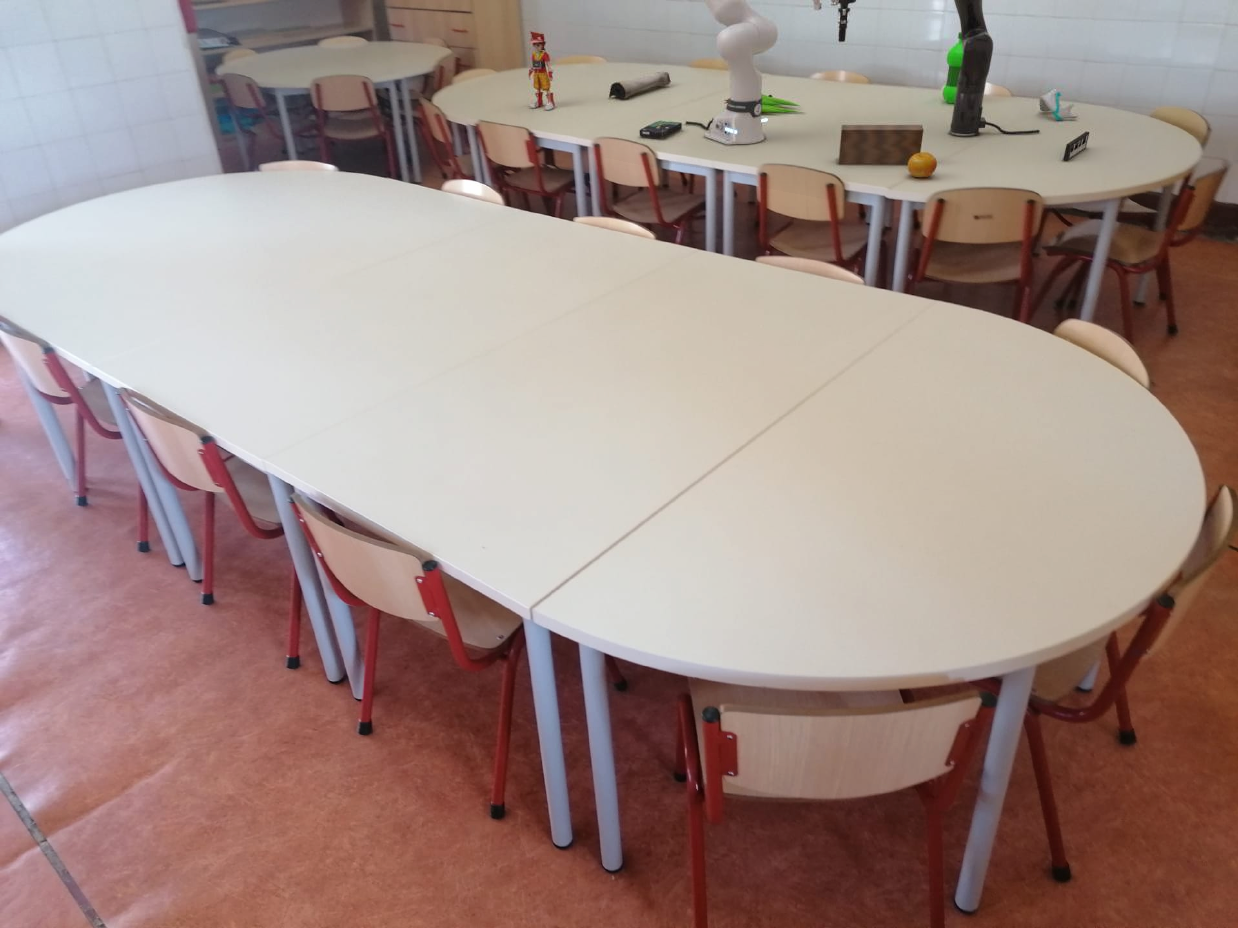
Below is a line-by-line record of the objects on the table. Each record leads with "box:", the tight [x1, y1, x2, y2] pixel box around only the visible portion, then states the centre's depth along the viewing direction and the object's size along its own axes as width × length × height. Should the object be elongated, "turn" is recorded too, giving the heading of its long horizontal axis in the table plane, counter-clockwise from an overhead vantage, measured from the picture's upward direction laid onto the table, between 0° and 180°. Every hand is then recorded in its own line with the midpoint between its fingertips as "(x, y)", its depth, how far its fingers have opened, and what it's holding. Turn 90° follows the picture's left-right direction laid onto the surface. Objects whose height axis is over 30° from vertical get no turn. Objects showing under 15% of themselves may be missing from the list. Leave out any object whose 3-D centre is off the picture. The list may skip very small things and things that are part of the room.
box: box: [838, 124, 924, 166], centre depth 294 cm, size 26×6×11 cm, turn 78°
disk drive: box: [639, 120, 683, 140], centre depth 338 cm, size 10×3×15 cm
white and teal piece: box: [1038, 88, 1078, 121], centre depth 328 cm, size 15×10×10 cm
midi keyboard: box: [1062, 131, 1091, 161], centre depth 291 cm, size 18×1×5 cm, turn 138°
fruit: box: [907, 151, 938, 179], centre depth 280 cm, size 8×8×8 cm
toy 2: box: [761, 93, 804, 114], centre depth 358 cm, size 28×5×30 cm
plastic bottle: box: [942, 31, 963, 104], centre depth 348 cm, size 10×10×25 cm
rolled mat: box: [608, 71, 672, 101], centre depth 395 cm, size 30×9×10 cm
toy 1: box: [527, 31, 556, 111], centre depth 374 cm, size 12×9×30 cm
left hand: (826, 7), depth 281 cm, fingers open, 8 cm apart
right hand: (841, 39), depth 309 cm, fingers open, 8 cm apart
